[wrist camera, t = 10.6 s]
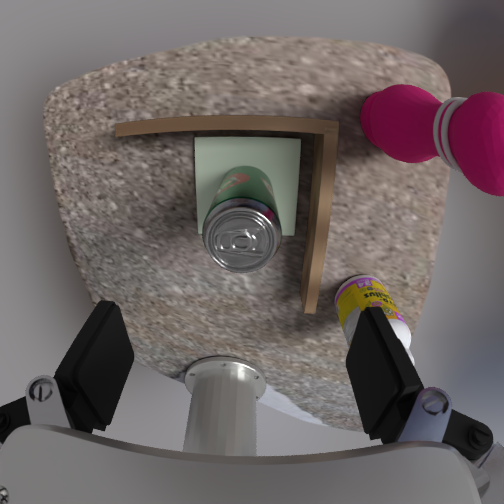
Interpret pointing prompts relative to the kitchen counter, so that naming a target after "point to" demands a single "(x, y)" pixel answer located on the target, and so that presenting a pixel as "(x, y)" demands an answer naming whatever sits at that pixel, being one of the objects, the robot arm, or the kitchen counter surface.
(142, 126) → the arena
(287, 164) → the pad
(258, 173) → the soda can
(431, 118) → the pepper mill
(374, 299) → the supplement bottle
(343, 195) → the kitchen counter surface
